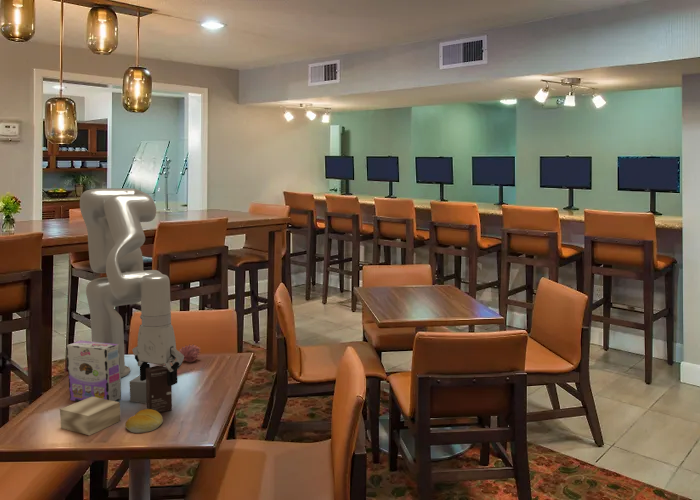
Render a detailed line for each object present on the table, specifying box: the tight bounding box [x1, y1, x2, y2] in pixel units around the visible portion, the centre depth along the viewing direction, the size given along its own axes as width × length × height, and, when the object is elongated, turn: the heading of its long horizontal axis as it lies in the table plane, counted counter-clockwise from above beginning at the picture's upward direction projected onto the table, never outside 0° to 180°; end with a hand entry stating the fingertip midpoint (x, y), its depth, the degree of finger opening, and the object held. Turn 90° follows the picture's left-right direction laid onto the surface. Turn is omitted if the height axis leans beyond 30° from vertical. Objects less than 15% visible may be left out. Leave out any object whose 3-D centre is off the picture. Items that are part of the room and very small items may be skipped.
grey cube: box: [128, 374, 146, 404], centre depth 173 cm, size 6×6×6 cm
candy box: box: [66, 339, 122, 402], centre depth 172 cm, size 14×6×16 cm, turn 71°
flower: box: [178, 344, 202, 363], centre depth 208 cm, size 8×8×6 cm
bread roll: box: [125, 408, 164, 434], centre depth 154 cm, size 8×9×4 cm
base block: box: [59, 396, 122, 436], centre depth 155 cm, size 10×10×5 cm
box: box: [145, 364, 173, 413], centre depth 164 cm, size 6×4×12 cm
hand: (158, 381), depth 164 cm, fingers open, 9 cm apart
